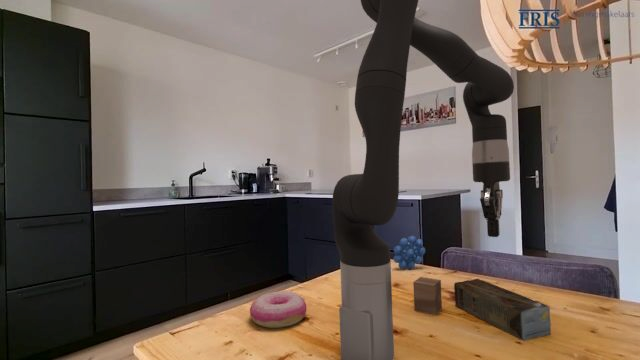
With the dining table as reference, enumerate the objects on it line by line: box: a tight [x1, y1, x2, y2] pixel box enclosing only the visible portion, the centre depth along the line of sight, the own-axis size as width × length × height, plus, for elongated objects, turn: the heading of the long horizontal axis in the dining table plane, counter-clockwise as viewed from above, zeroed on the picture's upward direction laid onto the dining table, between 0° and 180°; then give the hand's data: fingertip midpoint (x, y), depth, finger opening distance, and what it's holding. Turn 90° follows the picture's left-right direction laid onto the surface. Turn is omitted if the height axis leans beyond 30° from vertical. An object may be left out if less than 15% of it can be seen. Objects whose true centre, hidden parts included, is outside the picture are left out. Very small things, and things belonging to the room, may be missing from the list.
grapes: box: [393, 235, 426, 270], centre depth 113 cm, size 12×7×12 cm, turn 93°
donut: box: [249, 290, 307, 329], centre depth 75 cm, size 14×13×5 cm
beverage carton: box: [453, 278, 552, 341], centre depth 71 cm, size 8×19×7 cm, turn 17°
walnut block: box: [412, 276, 443, 316], centre depth 77 cm, size 5×5×7 cm
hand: (493, 236), depth 72 cm, fingers closed
